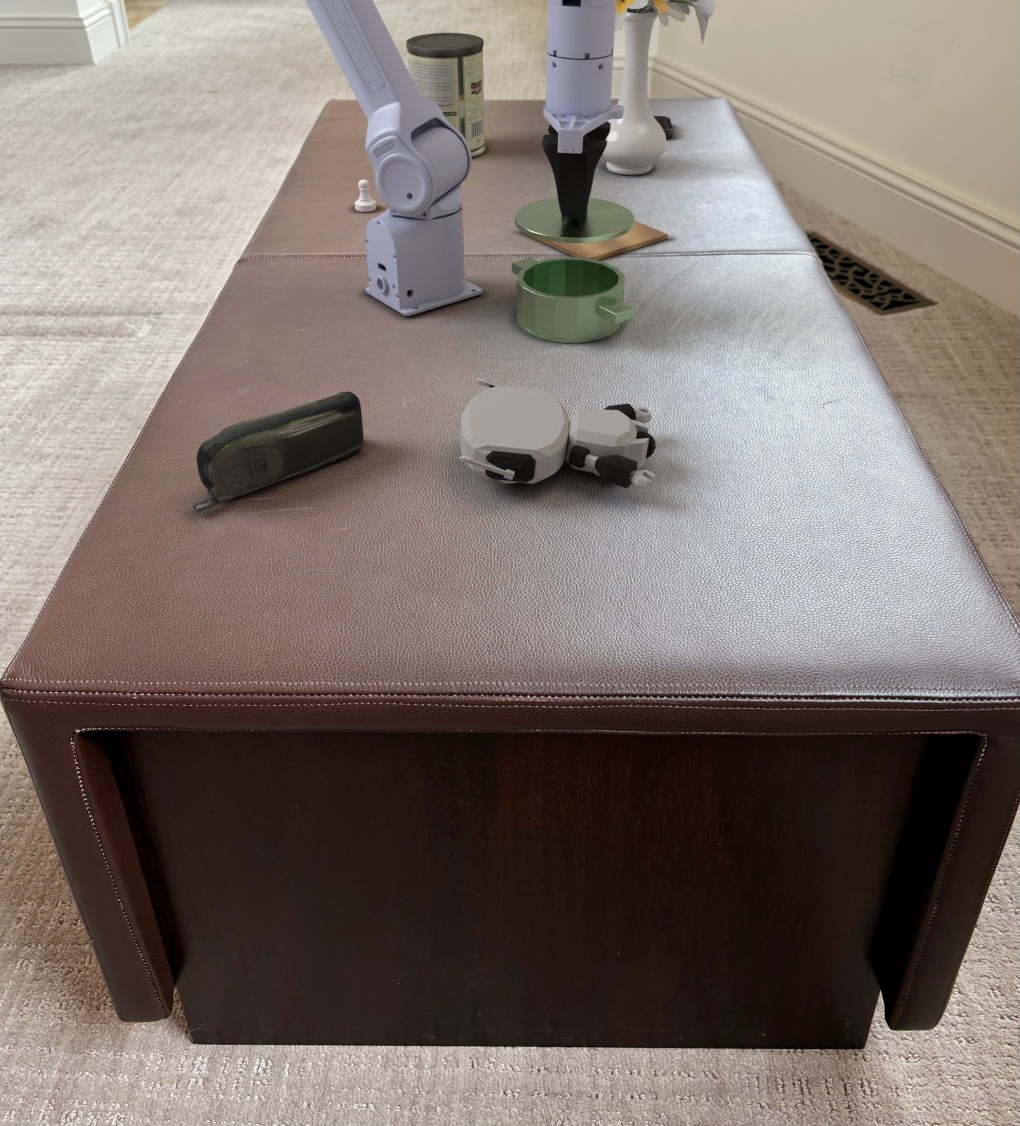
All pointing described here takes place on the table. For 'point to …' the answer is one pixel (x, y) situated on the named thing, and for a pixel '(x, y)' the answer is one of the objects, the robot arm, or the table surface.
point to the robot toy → (552, 438)
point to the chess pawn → (364, 198)
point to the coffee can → (452, 80)
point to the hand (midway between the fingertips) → (574, 211)
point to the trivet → (611, 243)
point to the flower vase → (642, 83)
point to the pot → (570, 299)
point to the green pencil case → (279, 447)
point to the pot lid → (574, 221)
